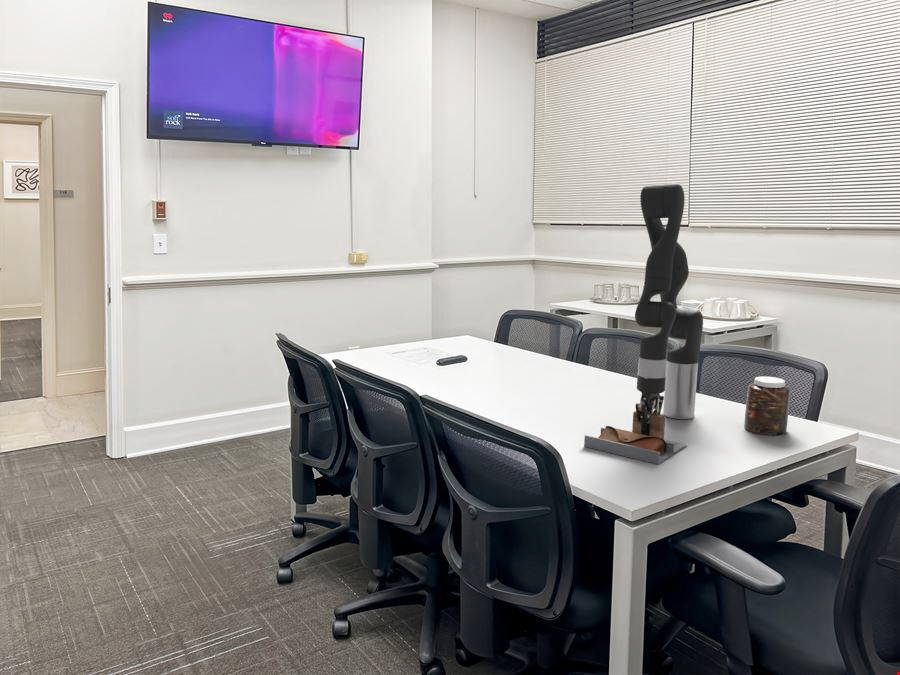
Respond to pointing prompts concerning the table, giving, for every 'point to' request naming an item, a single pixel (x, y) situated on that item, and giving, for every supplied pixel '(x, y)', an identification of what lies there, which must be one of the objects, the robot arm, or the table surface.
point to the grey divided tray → (635, 452)
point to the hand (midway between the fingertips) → (647, 434)
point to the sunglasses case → (634, 439)
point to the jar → (767, 406)
